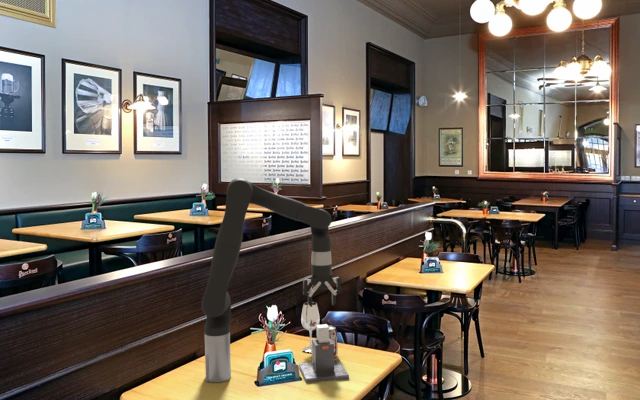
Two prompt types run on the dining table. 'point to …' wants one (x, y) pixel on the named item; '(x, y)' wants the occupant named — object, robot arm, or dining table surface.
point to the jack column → (322, 334)
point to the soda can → (333, 338)
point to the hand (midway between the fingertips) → (322, 305)
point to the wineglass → (310, 321)
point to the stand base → (323, 364)
